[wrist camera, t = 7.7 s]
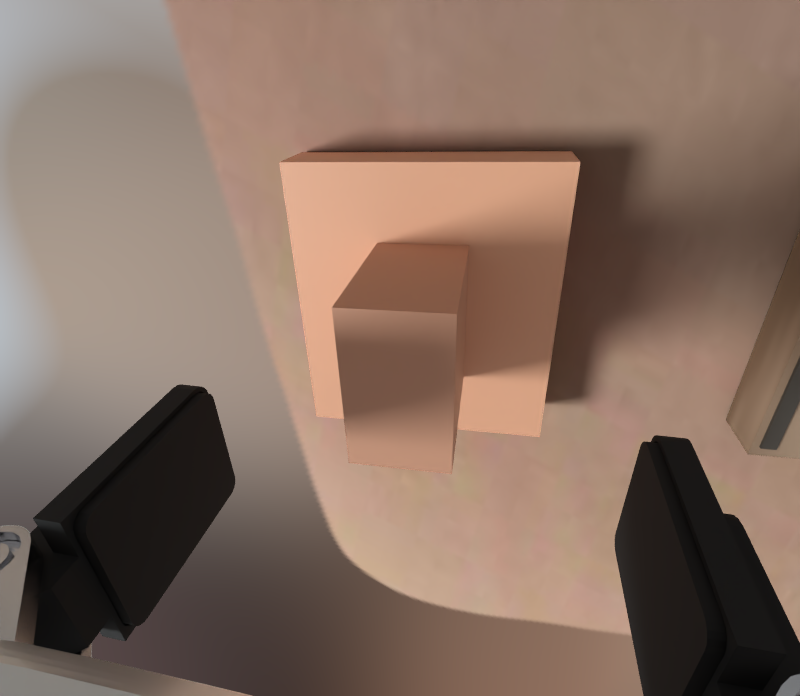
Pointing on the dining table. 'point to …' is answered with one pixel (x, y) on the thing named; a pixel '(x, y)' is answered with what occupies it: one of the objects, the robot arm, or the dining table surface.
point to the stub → (429, 292)
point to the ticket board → (773, 376)
